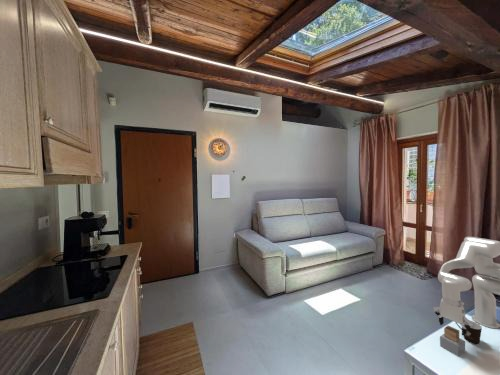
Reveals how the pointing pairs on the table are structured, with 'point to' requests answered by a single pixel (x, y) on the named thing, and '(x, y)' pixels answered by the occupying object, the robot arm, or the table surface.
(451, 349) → the stoneware box
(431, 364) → the table surface
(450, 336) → the walnut block
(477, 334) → the coffee mug
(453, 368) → the table surface
